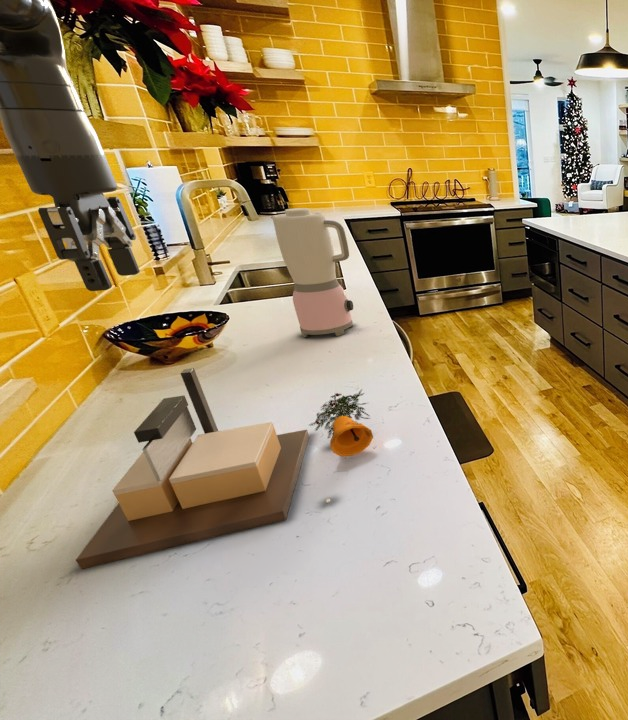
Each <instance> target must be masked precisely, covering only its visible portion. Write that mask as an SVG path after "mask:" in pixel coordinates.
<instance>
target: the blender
mask: <svg viewBox="0 0 628 720" xmlns="http://www.w3.org/2000/svg"><path fill="white" fill-rule="evenodd" d="M270 219H272V222H273V227H274V230H275V237H276V241H277V243H278V246H279V250H280V251H279V252H280V255H281V257H282V260H283V262H284V264H285V266H286V268H287V270H288V273H289V275H290V277H291V279H292V281H293V283H294V285H293V286H294V287H293V293H292V304H293V307H294V311H295V314H296V317H297V320H298V324H299V329H300V332H301V335H302V337H303V338H308V335H312V336H317V335H319V336H320V335H327V334H334V335H335V336H336V337H340V336H343V335H345V330H346V329H348V328H352V327H353V326H354V323H353V319H352V315H351V311H353V310H354V303H353V301H352V300H351V299H348V297H347V294H346V291H345V289H344V288H343V286H342V285H341V284H340V283H339V281H338V279H337V273H336V263H338V262H342V261H346V260H348V259H349V257H350V251H349V245H348V240H347V235H346V232H345V228H344V226H343V225H342V224H341V223H340V222H338V221H336V220H328V219H326V217H325V214H324V213H322V212H317V211H315V212H314V211H311V209H310V208H309V207H308V208H307V207H294V208H287V209H284V213H281V214H276V215H271V216H270ZM329 228H333V229H335V230H336V233H337V238H338V242H339V246H340V251H341V253H340V254H335V250H334V246H333V242H332V237H331V234H330V229H329Z"/></svg>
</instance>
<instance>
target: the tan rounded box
mask: <svg viewBox="0 0 628 720" xmlns="http://www.w3.org/2000/svg"><path fill="white" fill-rule="evenodd" d="M277 435H278V434H277V432H276V428H275V426H274V423H273V421H269V422H263V423H258V424H252V425H246V426H241V427H235V428H234V427H233V428H230V429H224V430H218V431H217V432H212V433H206V434H205V433H201V434H200V433H199V434H197V436H196V438H195V439H194V440H193V441H192V443H193V444H192V445H191V447H190V448H189V450H188V451H187V453H186V454H185V456H184V457H183V459H182V460H181V462H180V463H179V465H178V466H177V468H176V469H175V471H174V472H173V474H172V475H171V477H170V478H169V481H170V483H171V485H172V487H173V489H174V491H175V494H176V496H177V498H178V500H179V502H180V505H181V507H182V509H185V508H190V507H194V506H199V505H203V504H208V503H212V502H217V501H221V500H226V499H231V498H235V497H240V496H244V495H249V494H253V493H258V492H262V491H266V488H267V485H268V483H269V480H270V477H271V474H272V472H273V469H274V466H275V463H276V461H277V458H278V455H279V452H280V449H281V446H280V443H279V440H278V437H277Z"/></svg>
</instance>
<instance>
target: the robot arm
mask: <svg viewBox="0 0 628 720" xmlns="http://www.w3.org/2000/svg"><path fill="white" fill-rule="evenodd" d="M66 58H67V57H66V51H65V46H64V41H63V37H62V32H61V26H60V24H59V20H58V17H57V15H56V11H55V9H54V7H53V5H52V2H51V0H0V123H1V126H2V129H3V131H4V135H5V137H6V139H7V141H8V143H9V146H10V148H11V150H12V152H13V154H14V157H15V160H16V161H17V164H18V165H19V167H20V169H21V172H22V174H23V176H24V178H25V181H26V182H27V185H28V187H29V189H30V191H31V192H32V193H34V194H35V195H38V196H39V195H40V196H50V197H51V198H52V200H53V205H54V206H47V207H38V210H37V211H38V215H39V217H40V219H41V222H42V223H43V226H44V229H45V231H46V234H47V235H48V238H49V240H50V242H51V245H52V247H53V249H54V252H55V254H56V256H57V258H58V259H59V260H61V261H63V260H65V261H66V260H68V261H69V262H71V263H74V264H75V266H76V269H77V271H78V273H79V275H80V277H81V280H82V282H83V284H84V286H85V288H86V290H88V291H90V292H101V291H108V290H110V289H111V288H112V287H113V285H112V282H111V280H110V277H109V276H108V272H107V271H106V268H105V266H104V264H103V261H102V260H101V259H100V246H101V245H104V246H105V247H106V248H107V252H108V254H109V257H110V259H111V261H112V264H113V266H114V268H115V271H116V273H117V275H118V276H122V277H125V276H136V275H138V274H139V273H140V272H141V271H140V267H139V265H138V263H137V261H136V258H135V255H134V253H133V250H132V247H133V242H132V241H136V238H137V236H136V234H135V232H134V228H133V227H132V224H131V222H130V220H129V217H128V215H127V213H126V210H125V208H124V205H123V203H122V201H121V199H120V197H119V196H105V194H104V193H112V192H113V193H114V192H116V191H117V190H118V185H117V182H116V179H115V177H114V174H113V171H112V169H111V167H110V165H109V162H108V161H109V160H108V159H107V156H106V154H105V152H104V149H103V147H102V144H101V141H100V139H99V136H98V134H97V132H96V130H95V128H94V127H93V124H92V123H91V121H90V120H89V119H90V118H89V117H88V115H87V113H86V111H85V109H84V106H83V103H82V100H81V98H80V95H79V93H78V91H77V88H76V85H75V83H74V81H73V79H72V77H71V75H70V73H69V71H68V66H67V59H66ZM65 245H66V246H65Z"/></svg>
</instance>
